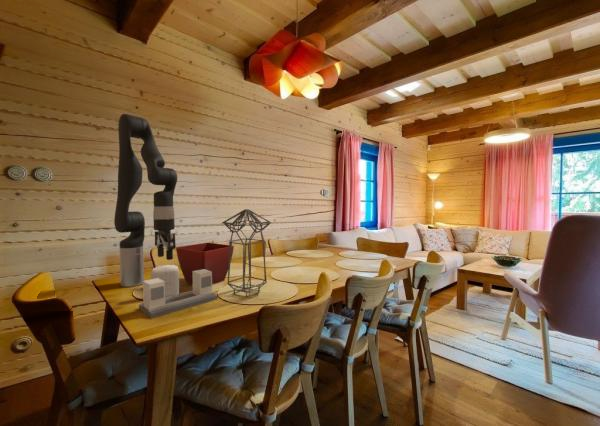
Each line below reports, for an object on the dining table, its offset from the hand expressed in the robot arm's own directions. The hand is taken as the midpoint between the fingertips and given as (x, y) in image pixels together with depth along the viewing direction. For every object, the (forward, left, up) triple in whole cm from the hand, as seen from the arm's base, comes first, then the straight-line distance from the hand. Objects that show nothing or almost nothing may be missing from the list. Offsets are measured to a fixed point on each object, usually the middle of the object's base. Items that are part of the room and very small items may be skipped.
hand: (165, 258), depth 113 cm
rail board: (+13, 0, -15) cm, 20 cm away
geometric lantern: (+22, +24, -16) cm, 36 cm away
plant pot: (-6, +21, -16) cm, 27 cm away
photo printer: (0, 0, -16) cm, 16 cm away
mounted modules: (+13, 0, -14) cm, 19 cm away
